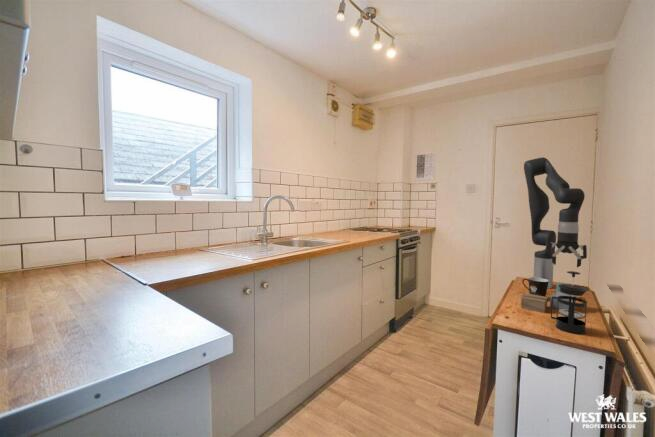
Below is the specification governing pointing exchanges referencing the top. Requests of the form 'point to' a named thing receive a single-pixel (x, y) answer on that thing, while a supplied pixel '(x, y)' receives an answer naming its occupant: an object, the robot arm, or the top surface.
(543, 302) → the stand
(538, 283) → the coffee mug
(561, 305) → the stand
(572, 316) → the french press
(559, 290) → the teal rectangular block
